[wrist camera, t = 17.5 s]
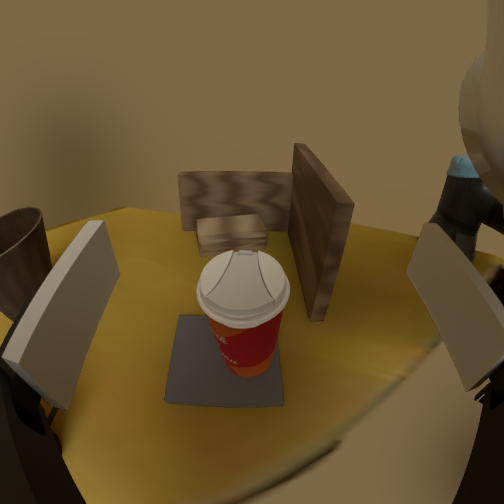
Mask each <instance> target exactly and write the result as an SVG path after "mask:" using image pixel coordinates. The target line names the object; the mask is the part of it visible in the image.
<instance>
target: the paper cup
mask: <svg viewBox="0 0 504 504" xmlns="http://www.w3.org/2000/svg"><path fill="white" fill-rule="evenodd" d="M196 291H197V299H198V303H199V305H200V307H201V308H202V310H203V311H204V312H205V313H206V314H207V317H208V319H209V322H210V325H211V328H212V330H213V333H214V336H215V338H216V341H217V344H218V346H219V349H220V351H221V354H222V356H223V359H224V361H225V363H226V365H227V367H228V368H229V369H230V370H231V371H232V372H233V373H234V374H236V375H238V376H240V377H246V378H251V377H256V376H258V375H261V374H262V373H264V372H265V371H266V370H267V369H268V367H269V366H270V364H271V361H272V357H273V354H274V349H275V345H276V340H277V336H278V331H279V326H280V321H281V316H282V311H283V308H284V307H285V305H286V303H287V301H288V299H289V295H290V284H289V281H288V278H287V276H286V275H285V273H284V270H283V268H282V267H281V265H280V264H279V263H278V262H277V260H275V259H274V258H273V257H271V256H270V255H268V254H266V253H264V252H261V251H258V254H257V252H252V251H249V250H239V252H234V251H233V250H231V251H227V252H224V253H222V254H220V255H218V256H216V257H215V258H213V259H212V260H211V261H210V262H208V264H207V265H206V266H205V268H204V269H203V271H202V273H201V276H200V279H199V282H198V285H197V290H196Z"/></svg>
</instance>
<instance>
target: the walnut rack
mask: <svg viewBox="0 0 504 504" xmlns="http://www.w3.org/2000/svg"><path fill="white" fill-rule="evenodd" d="M178 186H179V198H180V208H181V218H182V227H183V230H196V228H197V220H196V219H206V218H217V217H228V216H240V215H253V214H259V216H260V217H261V219H262V221H263V223H264V225H265V227H266V229H267V231H288V235H289V239H290V243H291V246H292V250H293V254H294V258H295V262H296V266H297V270H298V274H299V278H300V282H301V287H302V291H303V295H304V299H305V303H306V308H307V312H308V316H309V321H323V320H324V317H325V314H326V311H327V307H328V304H329V301H330V298H331V294H332V291H333V287H334V284H335V280H336V277H337V273H338V270H339V266H340V262H341V258H342V255H343V251H344V247H345V243H346V239H347V235H348V231H349V226H350V222H351V217H352V213H353V208H354V202H353V201H352V200H351V198H350V197H349V196H348V195H347V193H346V192H345V191H344V190H343V188H342V187H341V186H340V185H339V183H338V182H337V181H336V180H335V178H334V177H333V176H332V175H331V174H330V172H329V171H328V170H327V169H326V168H325V166H324V165H323V164H322V163H321V162H320V161H319V159H318V158H317V157H316V156H315V155H314V154H313V152H312V151H311V150H310V149H309V148H308V147H307V146H306V145H305V144H300V143H295V144H294V153H293V165H292V173H285V172H254V171H198V172H180V173H179V174H178Z"/></svg>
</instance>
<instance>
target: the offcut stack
mask: <svg viewBox="0 0 504 504" xmlns="http://www.w3.org/2000/svg"><path fill="white" fill-rule="evenodd" d="M196 220H197V228H196V236H197V240H198V245H199V249H200V254H201V257H206V256H213V255H220V254H222V253H224V252H227V251H231V250H233V251H234V252H239V250H249V251H251V250H258V249H265V248H266V241H267V229H266V227H265V225H264V223H263V221H262V219H261V217H260V216H259V214H253V215H240V216H228V217H217V218H206V219H196Z"/></svg>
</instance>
